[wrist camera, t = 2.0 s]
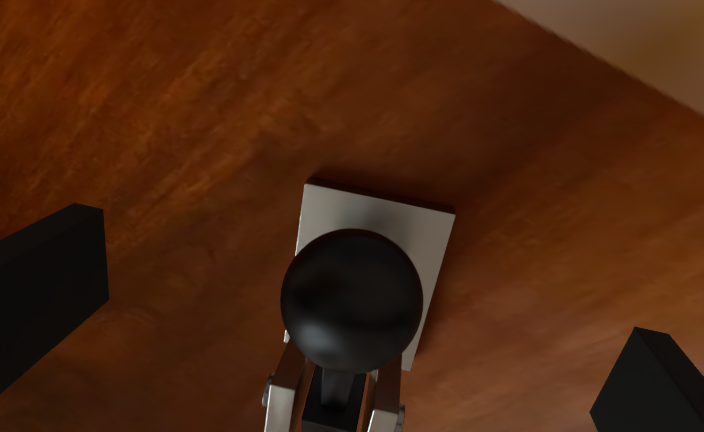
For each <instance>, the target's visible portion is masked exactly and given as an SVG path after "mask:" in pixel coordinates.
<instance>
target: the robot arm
mask: <svg viewBox="0 0 704 432" xmlns="http://www.w3.org/2000/svg"><path fill="white" fill-rule="evenodd" d="M108 300H109V290H108V275H107V260H106V246H105V231H104V216H103V209H100V208H95V207H91V206H86V205H82V204H77V203H73V204H71V205H69V206H67V207H65V208H63V209H61V210H59V211H57V212H55V213H53V214H51V215H49V216H47V217H45V218H43V219H41V220H39V221H37V222H35V223H33V224H31V225H29V226H27V227H25V228H23V229H21V230H19V231H17V232H15V233H13V234H11V235H9V236H7V237H5V238H3V239H1V240H0V394H1V393H2V392H3V391H4V390H5V389H6V388H8V387H9V386H10V385H11V384H12V383H13V382H15V381H16V380H17V379H18V378H19V377H20V376H22V375H23V374H24V373H25V372H26V371H27V370H28V369H30V368H31V367H32V366H33V365H34V364H35V363H37V362H38V361H39V360H40V359H41V358H42V357H43V356H45V355H46V354H47V353H48V352H49V351H50V350H52V349H53V348H54V347H55V346H56V345H57V344H59V343H60V342H61V341H62V340H63V339H64V338H65V337H67V336H68V335H69V334H70V333H71V332H72V331H74V330H75V329H76V328H77V327H78V326H79V325H81V324H82V323H83V322H84V321H85V320H86V319H87V318H89V317H90V316H91V315H92V314H93V313H94V312H96V311H97V310H98V309H99V308H100V307H101V306H103V305H104V304H105V303H106V302H107V301H108ZM590 415H591V417H592V419H593V421H594V424H595V426H596V428H597V430H598V432H704V376H703V375H702V374H701V373H700V372H699V370H698V369H697V368H696V367H695V366H694V364H693V363H692V362H691V361H690V359H689V358H688V357H687V356H686V355H685V353H684V352H683V351H682V350H681V348H680V347H679V346H678V345H677V344H676V342H675V341H674V340H673V339H672V338H671V336H670V335H669V334H666V333H662V332H657V331H652V330H648V329H643V328H639V327H635V328H634V329H633V331H632V333H631V335H630V337H629V339H628V341H627V343H626V344H625V346H624V348H623V350H622V352H621V354H620V356H619V358H618V359H617V361H616V363H615V365H614V367H613V369H612V371H611V373H610V374H609V376H608V378H607V380H606V382H605V384H604V386H603V388H602V389H601V391H600V393H599V395H598V397H597V399H596V401H595V403H594V404H593V406H592V408H591V410H590Z"/></svg>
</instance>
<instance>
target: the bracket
mask: <svg viewBox="0 0 704 432" xmlns="http://www.w3.org/2000/svg"><path fill="white" fill-rule="evenodd" d="M455 217H456V214H455V209H454V207H449V206H445V205H440V204H435V203H430V202H425V201H421V200H416V199H411V198H406V197H402V196H397V195H392V194H387V193H382V192H378V191H373V190H368V189H363V188H358V187H354V186H349V185H344V184H339V183H335V182H330V181H325V180H320V179H315V178H311V177H309V178H308V179H307V181H306V182H305V183H304V190H303V198H302V205H301V213H300V221H299V228H298V236H297V244H296V251H295V256H296V255H297V254H298V253H299V252H300V250H301V249H302V248H304V247H305V246H306V245H307V244H308V243H309V242H311V241H312V240H314V239H315V238H317V237H319V236H321V235H323V234H325V233H328V232H331V231H334V230H339V229H346V228H359V229H366V230H370V231H373V232H376V233H379V234H381V235H383V236H385V237H387V238H389V239H390V240H392V241H393V242H395V243H396V244H397V245H398V246H400V248H401V249H402V250H403V251H404V252H405V253H406V254H407V255H408V256H409V258H410V259H411V261H412V262H413V264H414V265H415V268H416V270H417V272H418V274H419V277H420V280H421V284H422V288H423V297H424V299H423V313H422V319H421V322H420V325H419V328H418V331H417V333H416V335H415V336H414V338H413V340H412V341H411V343H410V344H409V346H408V347H407V348H406V350H405V351H404V352H403V353H402V354H401V355H400V356H398V357H397V358H396V359H395V360H393V361H392V362H391V363H389V364H387V365H385V366H383V367H381V368H379V369H377V370H374V371H370V376H369V383H368V390H367V396H366V403H365V410H364V417H363V424H362V431H361V432H402V429H403V423H404V416H405V405H404V404H401V403H400V386H401V370H405V371H411V367H412V364H413V361H414V357H415V354H416V350H417V347H418V343H419V340H420V337H421V333H422V330H423V326H424V323H425V319H426V316H427V313H428V309H429V306H430V302H431V299H432V295H433V292H434V289H435V285H436V282H437V278H438V275H439V271H440V268H441V265H442V261H443V258H444V254H445V251H446V247H447V244H448V241H449V237H450V234H451V230H452V227H453V223H454V220H455ZM284 342H286V343H287V346H286V348H285V350H284V353H283V355H282V357H281V360H280V362H279V365H278V367H277V369H276V372H275V373H271V374H270V376H269V378H268V380H267V383H266V386H265V389H264V393H263V398H262V406H264V407H267V414H266V422H265V430H264V432H295V429H296V426H297V422H298V419H299V416H300V413H301V410H302V406H303V403H304V400H305V397H306V394H307V390H308V387H309V384H310V381H311V377H312V374H313V371H314V368H315V365H316V364H315V363H314V362H312V361H311V360H309V359H308V358H307V357H305V356H304V355H303V354H302V353H301V352H300V351H299V350H298V348H297V347H296V346H295V344H294V343H293V342H292V340H291V338H290V336H289V334H288V332H287V330H286V328H285V336H284Z"/></svg>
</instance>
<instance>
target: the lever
mask: <svg viewBox="0 0 704 432" xmlns="http://www.w3.org/2000/svg"><path fill="white" fill-rule="evenodd" d="M423 299H424V297H423V288H422V284H421V280H420V277H419V274H418V272H417V270H416V268H415V265H414V264H413V262H412V261H411V259H410V258H409V256H408V255H407V254H406V253H405V252H404V251H403V250H402V249H401V248H400V246H398V245H397V244H396V243H395V242H393V241H392V240H390V239H389V238H387V237H385V236H383V235H381V234H379V233H376V232H373V231H370V230H366V229H359V228H346V229H339V230H334V231H331V232H328V233H325V234H323V235H321V236H319V237H317V238H315V239H314V240H312V241H311V242H309V243H308V244H307V245H306V246H305V247H304V248H302V249H301V250H300V252H299V253H298V254H297V255H296V256H295V258H294V259H293V261H292V262H291V264H290V266H289V267H288V270H287V272H286V274H285V277H284V280H283V284H282V288H281V298H280V302H281V313H282V319H283V322H284V325H285V328H286V330H287V332H288V334H289V336H290V338H291V340H292V342H293V343H294V344H295V346H296V347H297V348H298V350H299V351H300V352H301V353H302V354H303V355H304V356H305V357H307V358H308V359H309V360H311V361H312V362H314V363H315V364H316V366H315V370H314V373H313V377H312V381H311V385H310V389H309V393H308V396H307V400H306V404H305V408H304V412H303V416H302V432H356V430H357V424H358V419H359V413H360V408H361V403H362V397H363V392H364V386H365V381H366V376H367V375H366V373H367V372H370V371H374V370H377V369H379V368H381V367H383V366H385V365H387V364H389V363H391V362H392V361H393V360H395V359H396V358H397V357H398V356H400V355H401V354H402V353H403V352H404V351H405V350H406V348H407V347H408V346H409V344H410V343H411V341H412V340H413V338H414V336H415V335H416V333H417V331H418V328H419V325H420V322H421V319H422V313H423Z"/></svg>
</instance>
